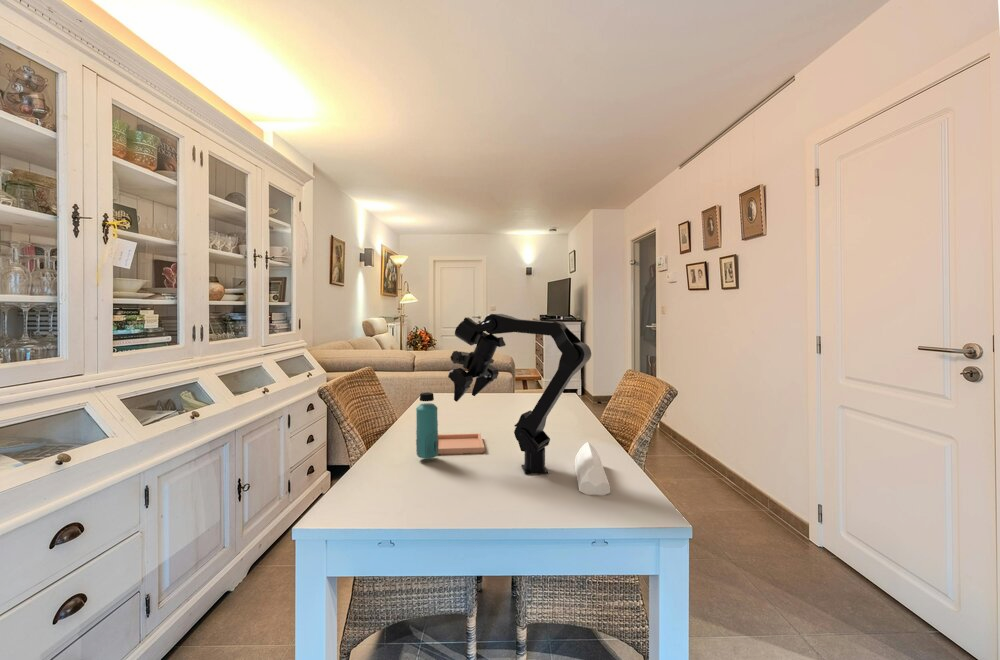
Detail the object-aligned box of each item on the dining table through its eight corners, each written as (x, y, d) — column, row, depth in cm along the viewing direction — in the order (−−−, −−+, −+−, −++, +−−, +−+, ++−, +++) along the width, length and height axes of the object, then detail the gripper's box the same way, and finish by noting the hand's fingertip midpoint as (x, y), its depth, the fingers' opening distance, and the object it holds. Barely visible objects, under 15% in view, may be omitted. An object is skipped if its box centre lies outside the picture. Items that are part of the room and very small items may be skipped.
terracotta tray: (484, 453, 137) (484, 447, 137) (432, 454, 135) (432, 449, 135) (480, 438, 153) (480, 433, 153) (433, 439, 151) (433, 434, 151)
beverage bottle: (436, 463, 127) (436, 395, 126) (413, 463, 127) (413, 394, 127) (440, 456, 134) (440, 391, 133) (418, 456, 134) (418, 390, 133)
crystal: (567, 449, 129) (572, 480, 105) (589, 438, 128) (598, 467, 104) (580, 472, 129) (587, 508, 105) (602, 460, 128) (614, 494, 104)
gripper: (480, 338, 140) (462, 379, 145) (444, 342, 124) (425, 389, 129) (507, 355, 136) (488, 398, 140) (473, 361, 119) (453, 409, 124)
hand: (464, 398), depth 133 cm, fingers open, 9 cm apart
